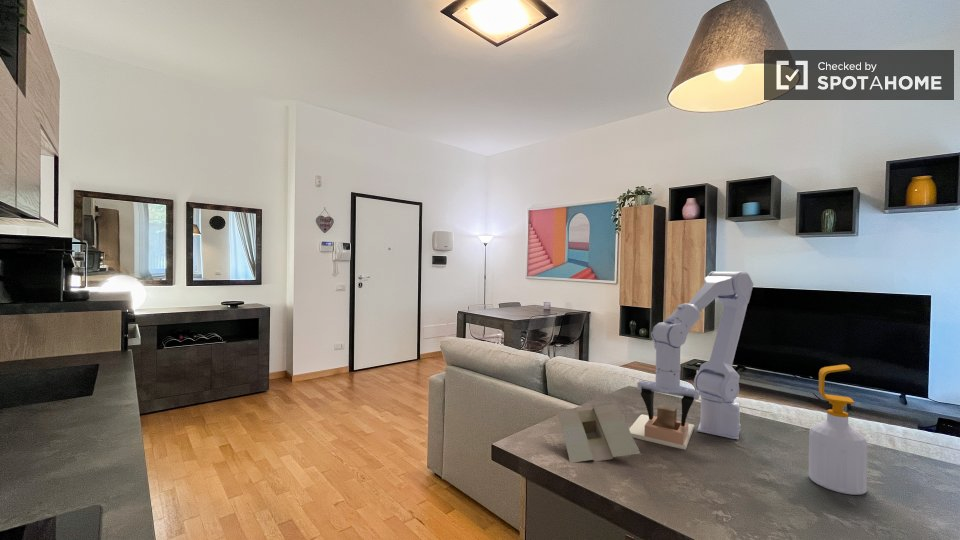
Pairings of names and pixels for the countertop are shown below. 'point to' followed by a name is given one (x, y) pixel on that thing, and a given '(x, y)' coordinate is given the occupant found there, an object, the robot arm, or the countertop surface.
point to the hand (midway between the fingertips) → (666, 421)
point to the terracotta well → (666, 432)
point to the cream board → (639, 433)
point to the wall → (596, 433)
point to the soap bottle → (837, 446)
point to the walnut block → (667, 416)
